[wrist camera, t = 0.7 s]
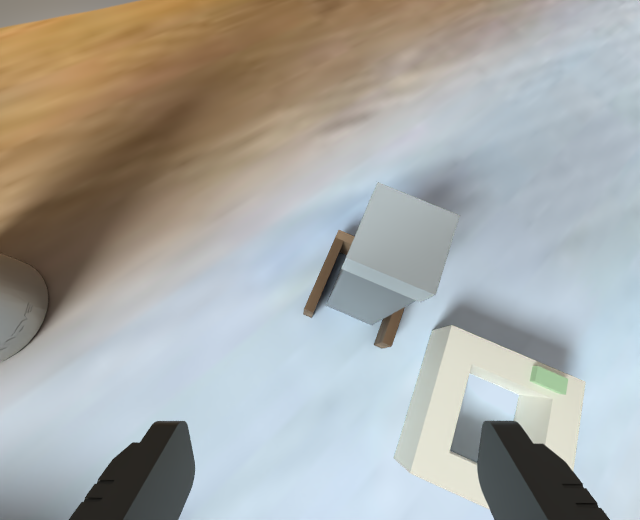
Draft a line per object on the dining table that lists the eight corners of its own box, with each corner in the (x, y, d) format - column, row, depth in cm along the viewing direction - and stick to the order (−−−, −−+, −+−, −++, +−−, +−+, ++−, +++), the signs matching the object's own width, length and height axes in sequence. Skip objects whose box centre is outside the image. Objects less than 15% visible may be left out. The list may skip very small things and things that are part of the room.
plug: (323, 306, 30) (346, 257, 17) (342, 260, 32) (377, 182, 18) (372, 327, 30) (435, 295, 16) (389, 280, 31) (459, 215, 18)
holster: (303, 314, 30) (304, 308, 27) (334, 242, 32) (338, 229, 29) (382, 348, 29) (391, 346, 26) (408, 272, 32) (419, 263, 29)
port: (393, 458, 27) (412, 476, 22) (432, 330, 30) (455, 324, 26) (524, 517, 26) (570, 547, 22) (548, 379, 29) (592, 382, 25)
